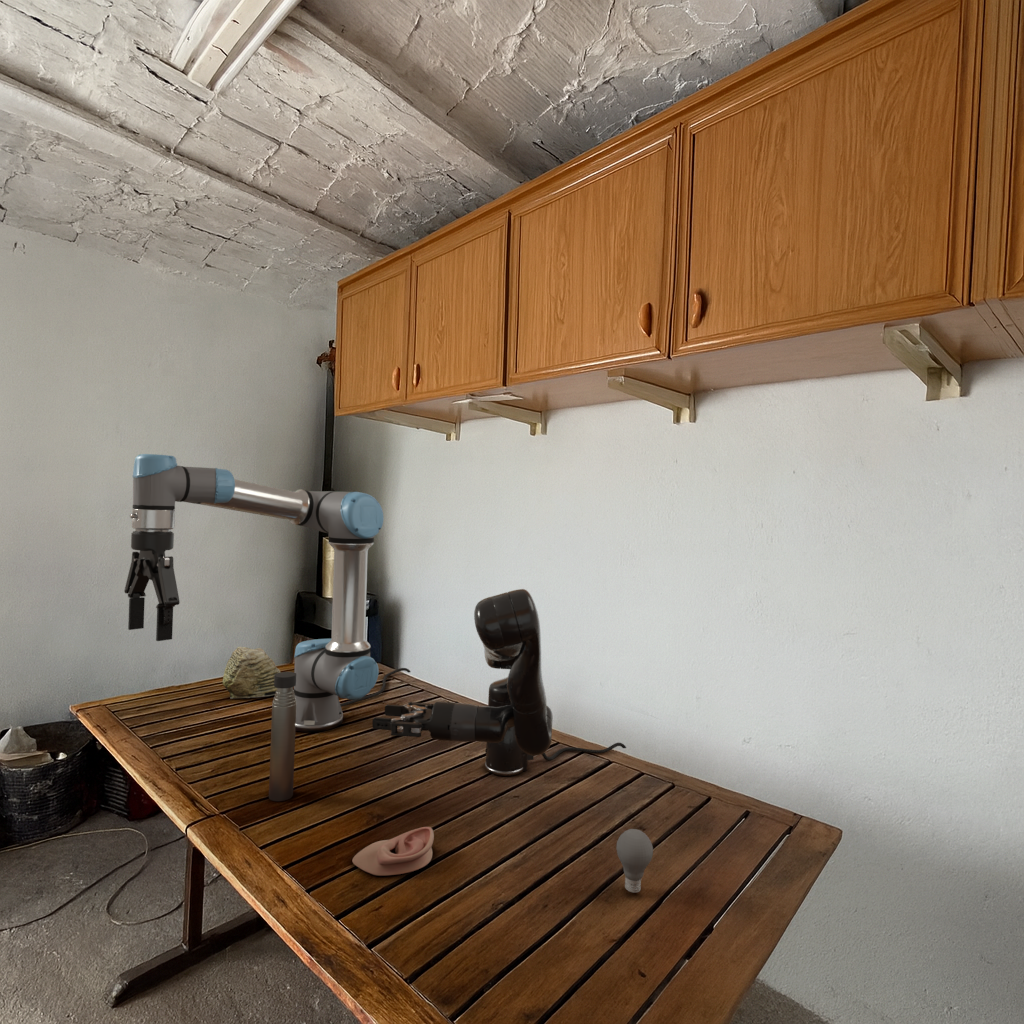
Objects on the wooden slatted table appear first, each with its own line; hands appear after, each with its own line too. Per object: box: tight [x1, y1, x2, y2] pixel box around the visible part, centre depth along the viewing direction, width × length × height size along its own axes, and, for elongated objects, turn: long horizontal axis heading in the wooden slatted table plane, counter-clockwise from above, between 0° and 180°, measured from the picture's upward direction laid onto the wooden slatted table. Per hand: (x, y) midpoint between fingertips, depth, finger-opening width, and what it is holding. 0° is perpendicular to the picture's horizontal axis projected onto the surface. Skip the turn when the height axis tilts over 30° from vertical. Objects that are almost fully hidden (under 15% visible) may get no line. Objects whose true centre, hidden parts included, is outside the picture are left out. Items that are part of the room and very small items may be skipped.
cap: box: [274, 671, 296, 688], centre depth 133 cm, size 4×4×2 cm
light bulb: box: [615, 828, 654, 894], centre depth 106 cm, size 6×6×10 cm
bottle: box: [268, 687, 296, 802], centre depth 133 cm, size 5×5×25 cm
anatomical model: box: [351, 826, 435, 877], centre depth 112 cm, size 13×4×12 cm
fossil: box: [222, 646, 281, 699], centre depth 198 cm, size 9×18×15 cm, turn 132°
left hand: (149, 634), depth 129 cm, fingers open, 13 cm apart
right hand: (379, 716), depth 132 cm, fingers open, 8 cm apart
